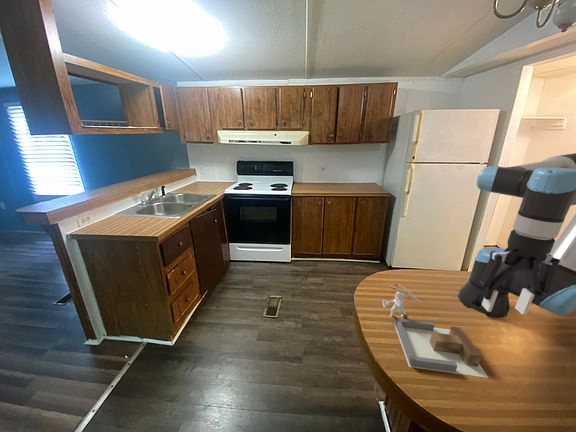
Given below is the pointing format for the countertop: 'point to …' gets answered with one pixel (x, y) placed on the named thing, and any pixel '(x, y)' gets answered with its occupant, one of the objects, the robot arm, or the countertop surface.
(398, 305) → the figurine
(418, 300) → the silver tweezers
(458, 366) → the board
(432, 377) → the countertop surface
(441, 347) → the t block
